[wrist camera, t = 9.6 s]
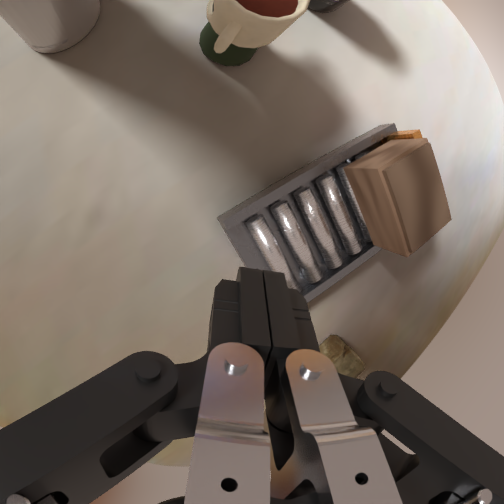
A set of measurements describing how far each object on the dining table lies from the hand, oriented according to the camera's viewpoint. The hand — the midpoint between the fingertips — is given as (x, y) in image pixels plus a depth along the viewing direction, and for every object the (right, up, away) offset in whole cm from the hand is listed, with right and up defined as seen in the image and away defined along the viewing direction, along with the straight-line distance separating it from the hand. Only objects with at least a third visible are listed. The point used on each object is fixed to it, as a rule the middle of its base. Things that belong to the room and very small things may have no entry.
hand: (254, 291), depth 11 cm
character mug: (-3, +24, +19) cm, 30 cm away
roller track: (+9, +6, +27) cm, 29 cm away
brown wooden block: (+15, +8, +24) cm, 30 cm away
